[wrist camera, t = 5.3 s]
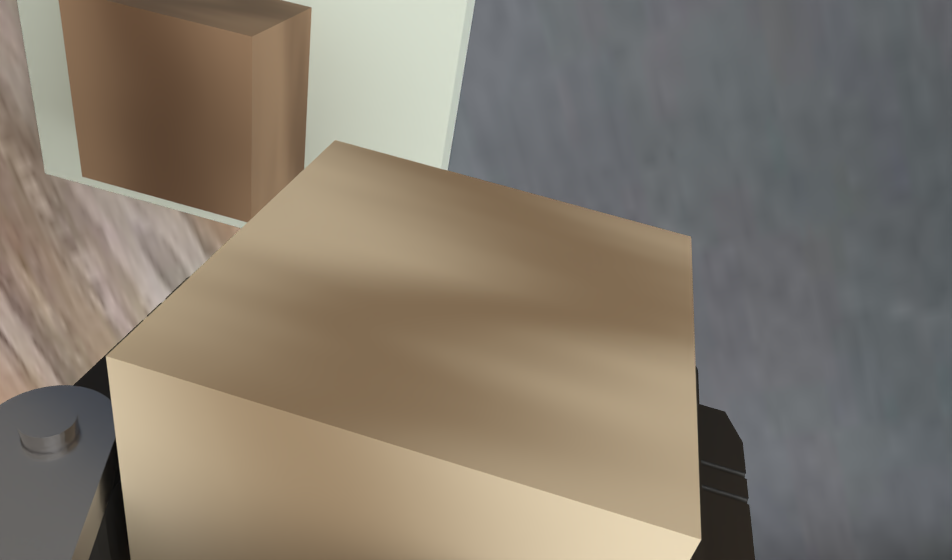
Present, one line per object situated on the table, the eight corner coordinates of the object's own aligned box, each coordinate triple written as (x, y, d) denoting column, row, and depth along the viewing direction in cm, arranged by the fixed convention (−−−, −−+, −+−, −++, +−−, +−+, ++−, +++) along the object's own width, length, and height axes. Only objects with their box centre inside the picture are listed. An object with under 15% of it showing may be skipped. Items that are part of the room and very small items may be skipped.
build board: (485, -64, 23) (476, -59, 22) (432, 263, 29) (423, 278, 28) (17, -170, 25) (-11, -170, 24) (65, 162, 31) (45, 173, 30)
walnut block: (311, 7, 24) (252, 36, 21) (303, 175, 27) (251, 223, 24) (141, -34, 25) (56, -12, 21) (153, 134, 28) (81, 176, 25)
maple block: (690, 236, 10) (701, 539, 6) (590, 486, 13) (548, 812, 8) (335, 139, 10) (105, 356, 6) (313, 402, 13) (144, 672, 9)
